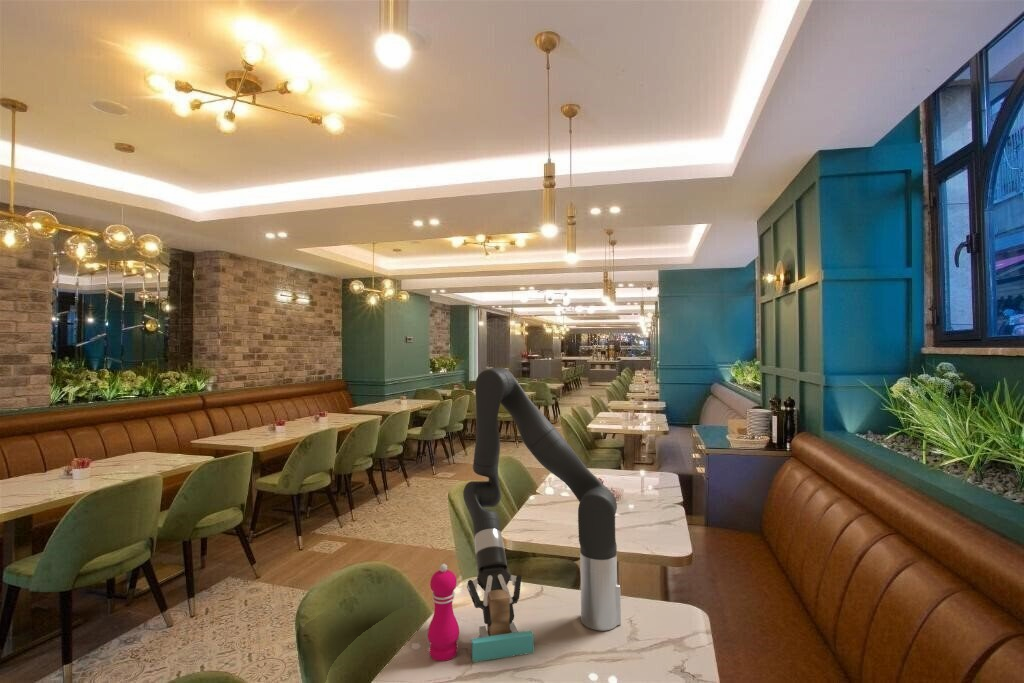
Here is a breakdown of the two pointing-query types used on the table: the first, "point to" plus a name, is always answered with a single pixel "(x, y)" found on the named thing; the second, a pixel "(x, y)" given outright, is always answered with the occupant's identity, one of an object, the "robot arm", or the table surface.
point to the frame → (484, 633)
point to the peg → (499, 612)
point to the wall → (502, 645)
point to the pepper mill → (443, 616)
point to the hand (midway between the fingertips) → (500, 623)
